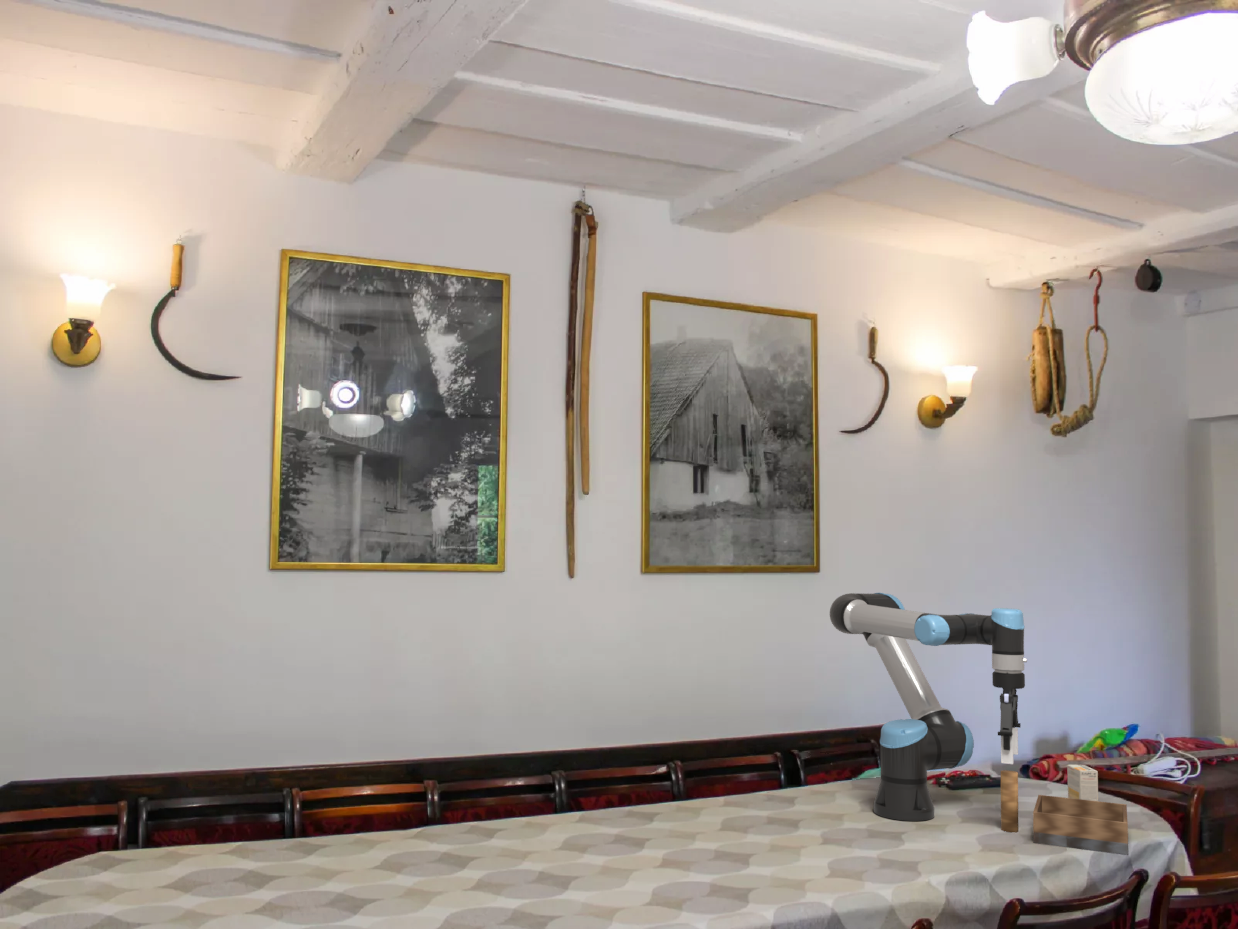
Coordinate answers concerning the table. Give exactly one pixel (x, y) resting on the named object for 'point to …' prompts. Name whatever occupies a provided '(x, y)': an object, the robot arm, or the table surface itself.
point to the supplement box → (1082, 782)
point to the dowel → (1009, 801)
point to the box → (1081, 824)
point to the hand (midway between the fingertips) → (1009, 758)
